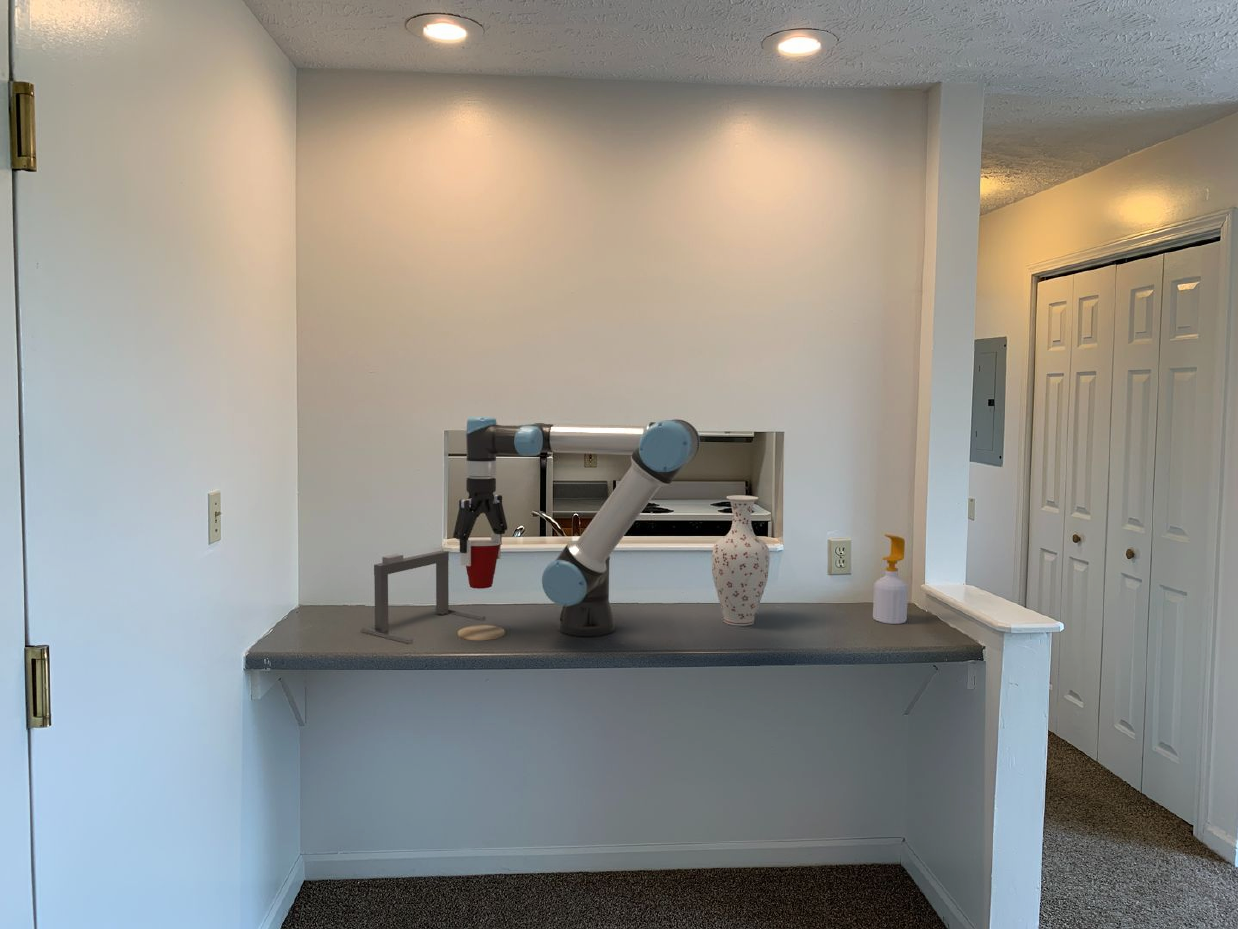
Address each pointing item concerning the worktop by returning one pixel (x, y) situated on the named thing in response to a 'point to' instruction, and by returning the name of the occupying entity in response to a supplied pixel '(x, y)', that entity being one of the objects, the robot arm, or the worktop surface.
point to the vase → (740, 565)
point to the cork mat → (481, 632)
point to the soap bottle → (891, 588)
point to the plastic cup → (482, 563)
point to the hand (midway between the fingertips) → (481, 561)
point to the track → (409, 640)
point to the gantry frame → (401, 564)
